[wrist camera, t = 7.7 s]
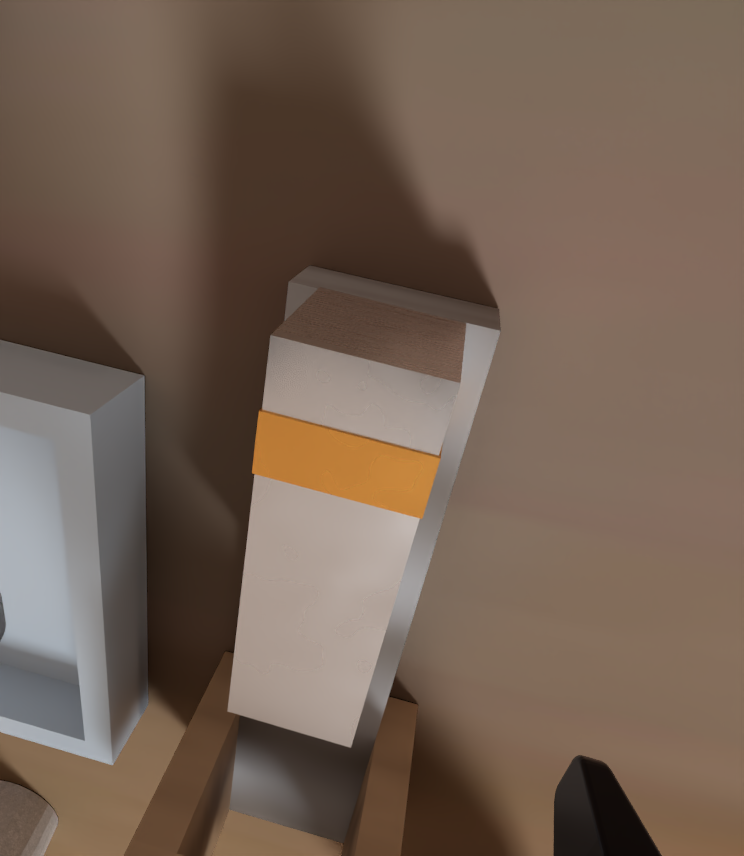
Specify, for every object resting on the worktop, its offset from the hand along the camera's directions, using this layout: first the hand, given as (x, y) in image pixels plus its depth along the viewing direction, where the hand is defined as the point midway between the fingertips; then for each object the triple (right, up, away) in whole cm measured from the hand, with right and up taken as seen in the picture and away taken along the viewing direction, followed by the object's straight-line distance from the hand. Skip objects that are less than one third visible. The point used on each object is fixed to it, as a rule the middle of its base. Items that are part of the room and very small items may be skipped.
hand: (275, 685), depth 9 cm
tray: (-13, 0, +15) cm, 20 cm away
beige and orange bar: (+1, +2, +9) cm, 9 cm away
